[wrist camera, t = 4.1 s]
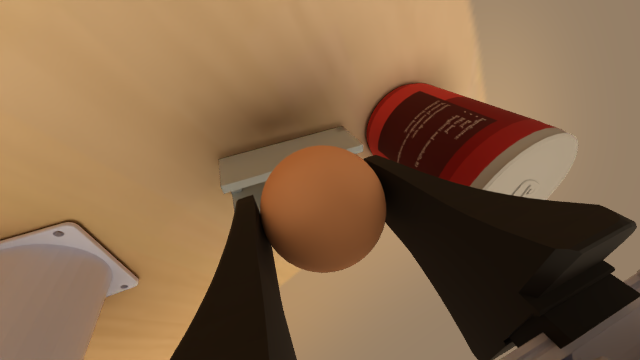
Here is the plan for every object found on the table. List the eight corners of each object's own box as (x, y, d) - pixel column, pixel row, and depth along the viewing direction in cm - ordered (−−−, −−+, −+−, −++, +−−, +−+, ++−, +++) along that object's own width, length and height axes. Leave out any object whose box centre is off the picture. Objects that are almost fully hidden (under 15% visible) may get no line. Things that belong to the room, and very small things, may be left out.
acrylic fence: (233, 193, 19) (237, 223, 17) (218, 159, 17) (220, 186, 14) (343, 160, 22) (362, 181, 19) (342, 126, 19) (363, 144, 17)
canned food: (427, 149, 25) (536, 219, 17) (361, 169, 23) (447, 258, 15) (446, 73, 20) (610, 117, 12) (365, 89, 18) (494, 154, 10)
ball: (267, 225, 12) (291, 319, 9) (236, 143, 9) (252, 233, 6) (352, 195, 14) (406, 268, 10) (349, 113, 10) (426, 172, 7)
